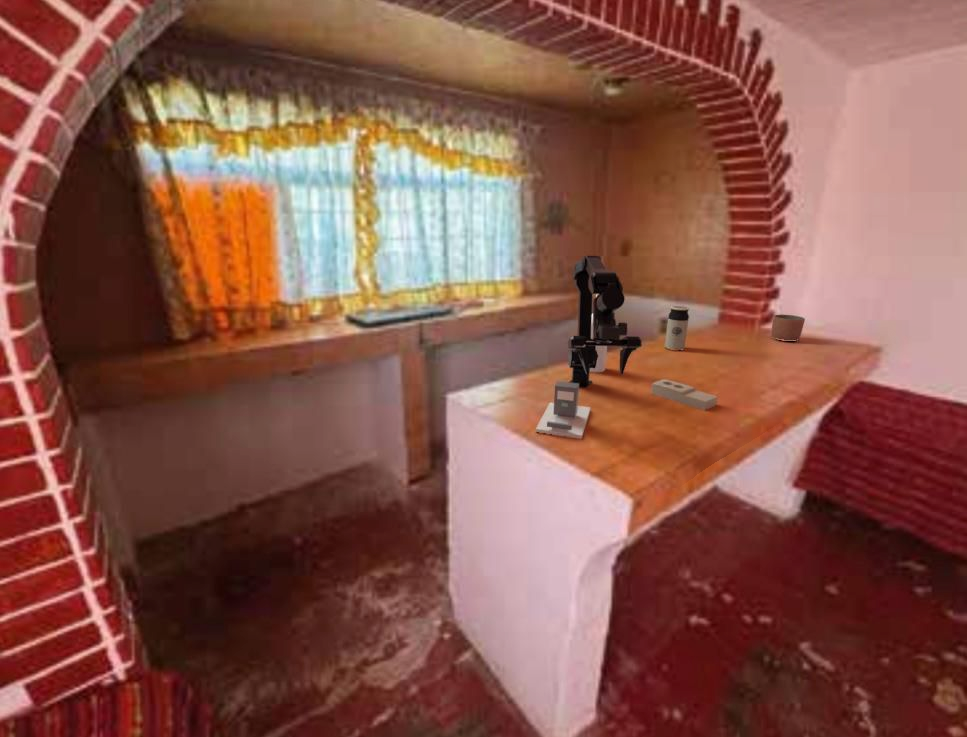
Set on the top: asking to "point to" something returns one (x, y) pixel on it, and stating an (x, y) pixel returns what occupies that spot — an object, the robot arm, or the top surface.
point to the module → (566, 399)
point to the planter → (787, 327)
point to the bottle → (599, 354)
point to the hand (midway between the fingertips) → (604, 374)
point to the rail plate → (564, 423)
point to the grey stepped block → (683, 394)
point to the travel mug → (677, 328)
